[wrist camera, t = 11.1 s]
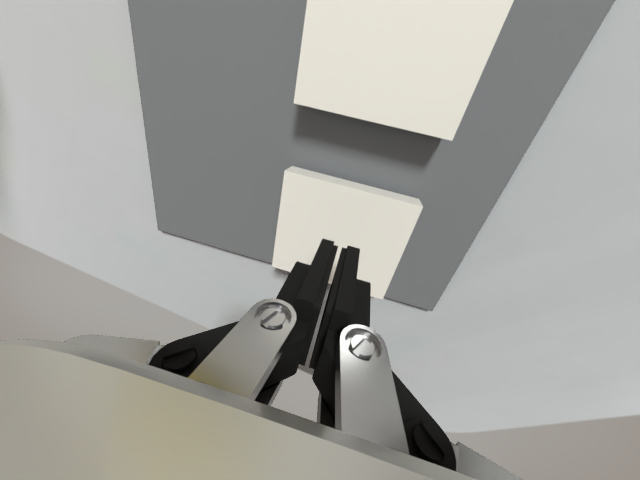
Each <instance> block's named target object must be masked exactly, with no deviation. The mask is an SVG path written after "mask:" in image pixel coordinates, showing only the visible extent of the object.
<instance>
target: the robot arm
mask: <svg viewBox="0 0 640 480" xmlns="http://www.w3.org/2000/svg"><path fill="white" fill-rule="evenodd" d="M337 249H338V246H336V245H334V241H330V240H327V239H323V238H322V240H321V243H320V245H319V247H318V250H317V252H316V254H315V256H314V259H313V261H312V263H311V265H308V264H305V263H301V262H298V261H297V262H296V263H295V265H294V267H293V269H292V270H291V272H290V274H289V276H288V278H287V279H286V281H285V283H284V285H283V287H282V289H281V290H280V292H279V294H278V296H277V298H276V299H265V300H262V301H260V302H258V303H257V304H255V305H254V306H253V307H252V308H251V309H250V310H249V311H248V312H247V314H246V315H245V316H244V317H243V318H242V319H241V320H240V321H238V322H235V323H231V324H228V325H225V326H221V327H218V328H215V329H212V330H208V331H205V332H202V333H199V334H196V335H192V336H189V337H185V338H182V339H179V340H176V341H174V342H171V343H169V344H167V345H160V341H155V340H144V339H133V338H123V337H113V336H103V335H81V336H77V337H73V338H70V339H68V340H66V341H64V342H61V341H51V340H36V339H21V340H20V339H18V340H0V480H523V479H521V478H520V477H518V476H516V475H515V474H513V473H511V472H510V471H508V470H506V469H504V468H503V467H501V466H499V465H498V464H496V463H494V462H492V461H491V460H489V459H487V458H486V457H484V456H482V455H480V454H479V453H477V452H475V451H473V450H472V449H470V448H468V447H467V446H465V445H463V444H461V443H460V442H457V443H456V444H453V443H452V442H450V441H449V439H448V437H447V436H446V434H445V433H444V432H443V430H442V429H441V428H440V426H439V425H438V424H437V423H436V422H435V421H434V419H433V418H432V417H431V416H430V415H429V413H428V412H427V411H426V410H425V409H424V408H423V406H422V405H421V404H420V403H419V402H418V401H417V399H416V398H415V397H414V396H413V395H412V393H411V392H410V391H409V390H408V389H407V388H406V386H405V385H404V384H403V383H402V382H401V381H400V379H399V378H398V377H397V376H396V375H395V374H394V372H393V371H392V370H391V365H390V361H389V356H388V351H387V347H386V345H385V342H384V340H383V339H382V338H381V336H380V335H379V334H378V333H377V332H376V331H374V330H373V329H371V328H370V294H371V283H370V282H366V281H363V280H359V279H357V271H358V262H359V254H360V249H359V248H355V247H352V246H347V248H343V247H342V249H341V253H340V256H339V260H338V263H337V267H336V270H335V274H334V277H333V280H332V284H331V287H330V291H329V294H328V298H327V301H326V305H325V309H324V313H323V316H322V320H321V324H320V328H319V331H318V335H317V339H316V343H315V346H314V350H313V354H312V358H311V361H310V365H309V367H310V368H313V369H314V373H313V378H312V379H313V381H314V383H315V385H316V386H317V388H318V390H319V392H320V393H319V398H318V411H317V422H313V421H311V420H308V419H305V418H302V417H299V416H297V415H294V414H291V413H288V412H285V411H282V410H279V409H276V408H273V407H271V404H272V402H273V400H274V399H275V397H276V395H277V393H278V391H279V389H280V387H281V384H282V382H283V380H284V379H286V378H288V377H290V376H292V375H294V374H295V373H296V371H297V368H298V365H299V364H301V365H305V362H306V358H307V355H308V351H309V348H310V344H311V341H312V337H313V334H314V330H315V327H316V323H317V320H318V316H319V313H320V309H321V306H322V302H323V299H324V295H325V292H326V288H327V285H328V281H329V278H330V274H331V270H332V267H333V263H334V260H335V256H336V253H337Z"/></svg>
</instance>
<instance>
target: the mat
mask: <svg viewBox="0 0 640 480" xmlns="http://www.w3.org/2000/svg"><path fill="white" fill-rule="evenodd" d="M614 1H615V0H514V1H513V3H512V6H511V8H510V10H509V13H508V15H507V17H506V19H505V22H504V24H503V26H502V29H501V31H500V33H499V35H498V38H497V40H496V42H495V44H494V47H493V49H492V51H491V54H490V56H489V58H488V60H487V63H486V65H485V67H484V70H483V72H482V74H481V76H480V79H479V81H478V83H477V86H476V88H475V90H474V92H473V95H472V97H471V99H470V101H469V104H468V106H467V108H466V111H465V113H464V115H463V117H462V120H461V122H460V124H459V127H458V129H457V131H456V133H455V136H454V138H453V140H452V141H451V140H446V139H442V138H438V137H434V136H429V135H425V134H421V133H417V132H413V131H408V130H404V129H400V128H396V127H392V126H387V125H383V124H379V123H375V122H370V121H366V120H362V119H358V118H354V117H349V116H345V115H341V114H337V113H333V112H328V111H324V110H320V109H316V108H311V107H307V106H303V105H299V104H295V103H294V96H295V88H296V81H297V73H298V66H299V58H300V51H301V43H302V35H303V28H304V20H305V13H306V5H307V0H128V6H129V13H130V21H131V28H132V36H133V43H134V51H135V58H136V66H137V74H138V81H139V89H140V96H141V104H142V111H143V119H144V126H145V134H146V142H147V149H148V157H149V164H150V172H151V179H152V187H153V194H154V202H155V210H156V217H157V225H158V230H160V231H163V232H167V233H170V234H174V235H177V236H180V237H184V238H187V239H190V240H194V241H197V242H200V243H204V244H207V245H211V246H214V247H217V248H221V249H224V250H227V251H231V252H234V253H238V254H241V255H244V256H248V257H251V258H254V259H258V260H261V261H264V262H268V263H271V264H272V261H273V253H274V246H275V238H276V231H277V223H278V216H279V208H280V201H281V193H282V186H283V178H284V171H285V170H286V169H288V168H290V167H291V166H295V167H298V168H302V169H306V170H310V171H314V172H318V173H322V174H325V175H329V176H333V177H337V178H341V179H345V180H348V181H352V182H356V183H360V184H364V185H368V186H372V187H375V188H379V189H383V190H387V191H391V192H395V193H398V194H402V195H406V196H410V197H414V198H418V199H419V200H420V202H421V204H422V205H423V209H422V211H421V213H420V215H419V218H418V220H417V222H416V224H415V227H414V229H413V231H412V234H411V236H410V238H409V240H408V243H407V245H406V247H405V250H404V252H403V254H402V256H401V259H400V261H399V263H398V266H397V268H396V270H395V272H394V275H393V277H392V279H391V281H390V284H389V286H388V288H387V291H386V293H385V295H384V297H386V298H389V299H392V300H396V301H399V302H402V303H406V304H409V305H413V306H416V307H419V308H423V309H426V310H429V311H433V309H434V307H435V306H436V304H437V302H438V300H439V299H440V297H441V295H442V294H443V292H444V290H445V289H446V287H447V285H448V283H449V282H450V280H451V278H452V277H453V275H454V273H455V272H456V270H457V268H458V267H459V265H460V263H461V261H462V260H463V258H464V256H465V255H466V253H467V251H468V250H469V248H470V246H471V244H472V243H473V241H474V239H475V238H476V236H477V234H478V233H479V231H480V229H481V227H482V226H483V224H484V222H485V221H486V219H487V217H488V216H489V214H490V212H491V210H492V209H493V207H494V205H495V204H496V202H497V200H498V199H499V197H500V195H501V193H502V192H503V190H504V188H505V187H506V185H507V183H508V182H509V180H510V178H511V176H512V175H513V173H514V171H515V170H516V168H517V166H518V165H519V163H520V161H521V159H522V158H523V156H524V154H525V153H526V151H527V149H528V148H529V146H530V144H531V142H532V141H533V139H534V137H535V136H536V134H537V132H538V131H539V129H540V127H541V125H542V124H543V122H544V120H545V119H546V117H547V115H548V114H549V112H550V110H551V108H552V107H553V105H554V103H555V102H556V100H557V98H558V97H559V95H560V93H561V91H562V90H563V88H564V86H565V85H566V83H567V81H568V80H569V78H570V76H571V74H572V73H573V71H574V69H575V68H576V66H577V64H578V63H579V61H580V59H581V57H582V56H583V54H584V52H585V51H586V49H587V47H588V46H589V44H590V42H591V40H592V39H593V37H594V35H595V34H596V32H597V30H598V29H599V27H600V25H601V23H602V22H603V20H604V18H605V17H606V15H607V13H608V12H609V10H610V8H611V6H612V5H613V3H614Z"/></svg>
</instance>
